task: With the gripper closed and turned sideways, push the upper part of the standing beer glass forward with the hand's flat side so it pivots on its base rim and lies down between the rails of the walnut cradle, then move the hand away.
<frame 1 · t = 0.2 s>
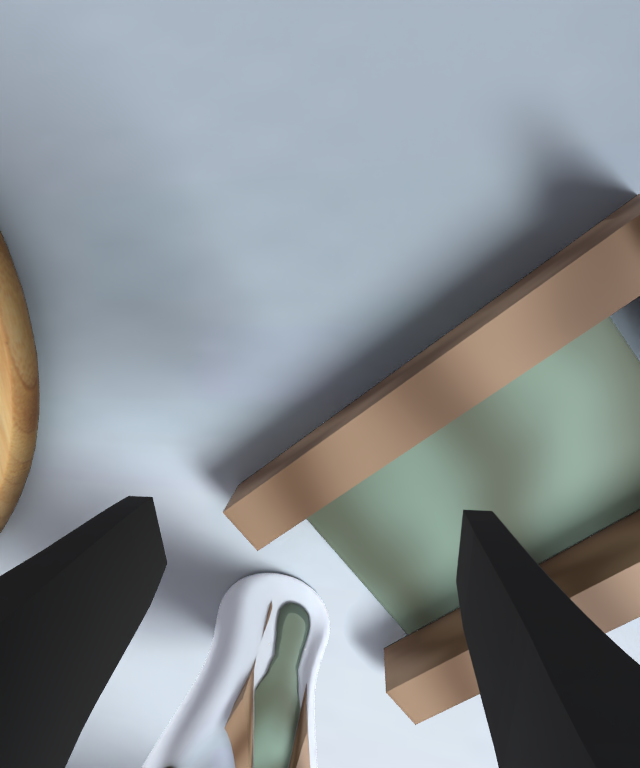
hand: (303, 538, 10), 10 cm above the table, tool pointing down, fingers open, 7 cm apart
cradle: (490, 487, 21), on the table
beer glass: (275, 615, 24), on the table
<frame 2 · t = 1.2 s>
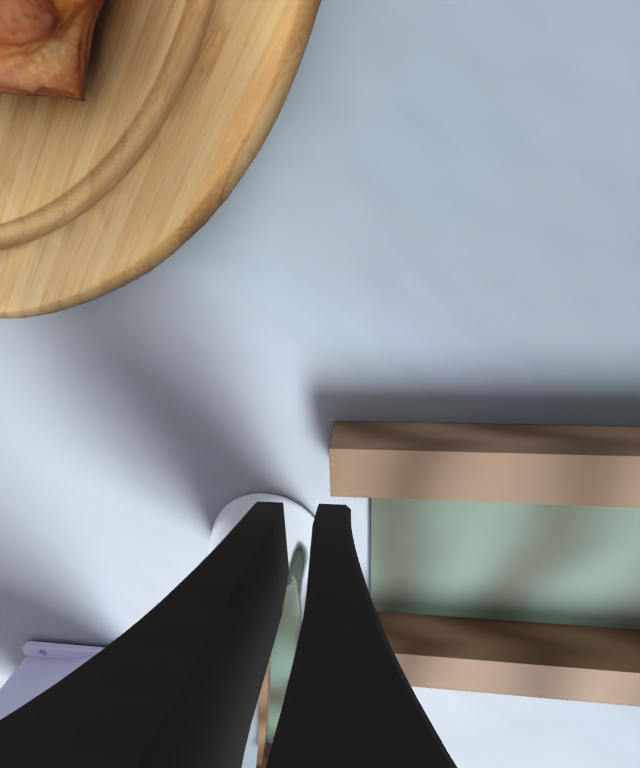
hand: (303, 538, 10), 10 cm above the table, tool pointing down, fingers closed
cradle: (530, 551, 22), on the table
beer glass: (269, 535, 24), on the table
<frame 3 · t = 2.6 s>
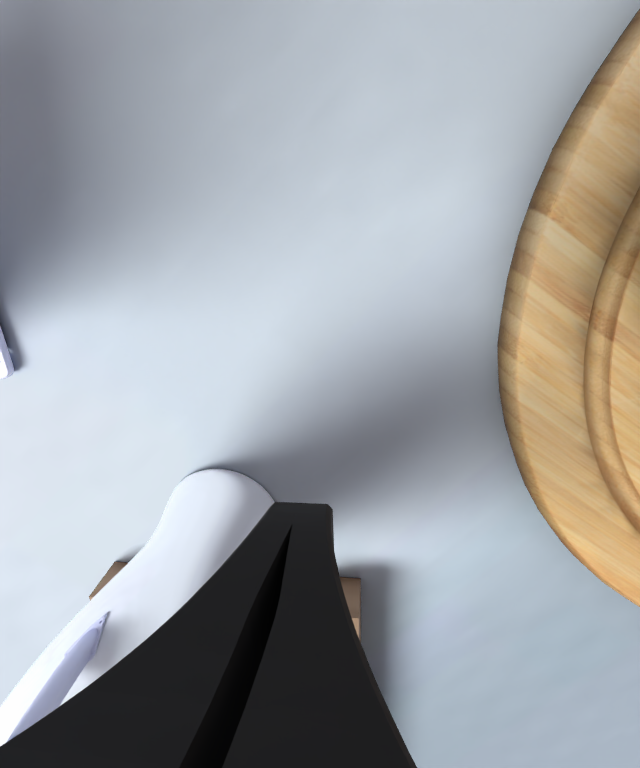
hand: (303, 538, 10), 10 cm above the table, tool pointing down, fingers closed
cradle: (249, 684, 28), on the table
beer glass: (226, 513, 24), on the table
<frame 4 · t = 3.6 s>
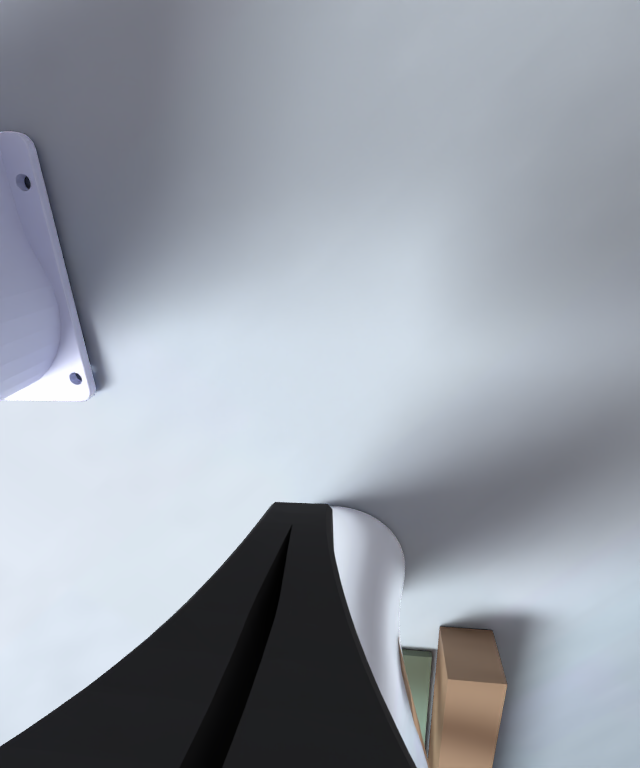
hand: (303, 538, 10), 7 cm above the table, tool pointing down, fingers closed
cradle: (342, 742, 25), on the table
beer glass: (337, 555, 20), on the table
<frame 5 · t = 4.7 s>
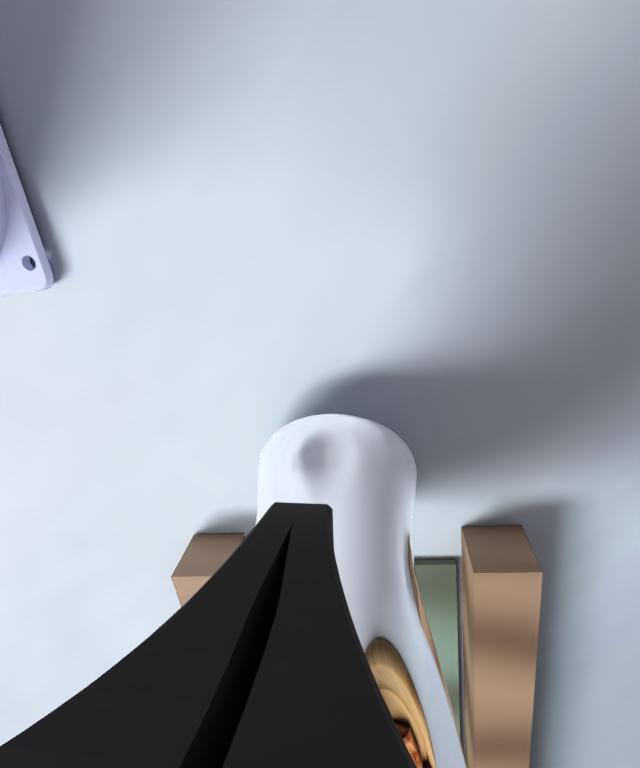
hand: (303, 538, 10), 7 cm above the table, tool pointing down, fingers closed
cradle: (368, 680, 23), on the table
beer glass: (337, 466, 17), point 1 cm above the table, touching gripper
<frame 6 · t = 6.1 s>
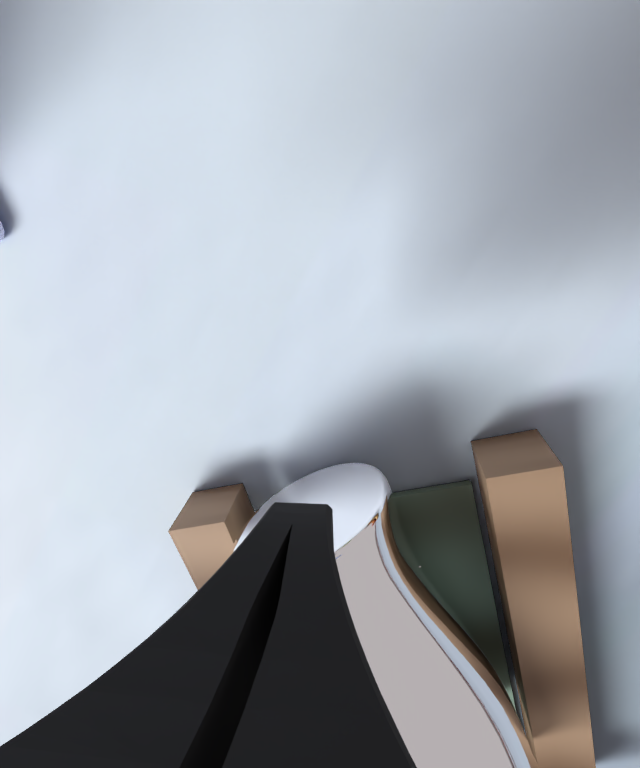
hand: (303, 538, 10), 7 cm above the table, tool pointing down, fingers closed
cradle: (401, 632, 21), on the table
beer glass: (303, 508, 15), point 3 cm above the table, touching cradle
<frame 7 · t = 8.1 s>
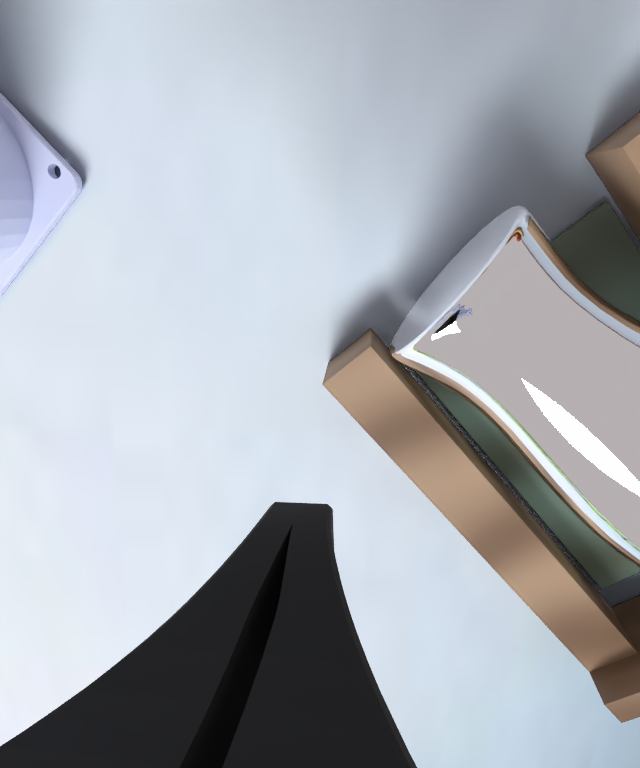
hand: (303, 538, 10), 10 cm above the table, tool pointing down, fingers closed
cradle: (600, 425, 19), on the table
beer glass: (443, 278, 14), point 3 cm above the table, touching cradle
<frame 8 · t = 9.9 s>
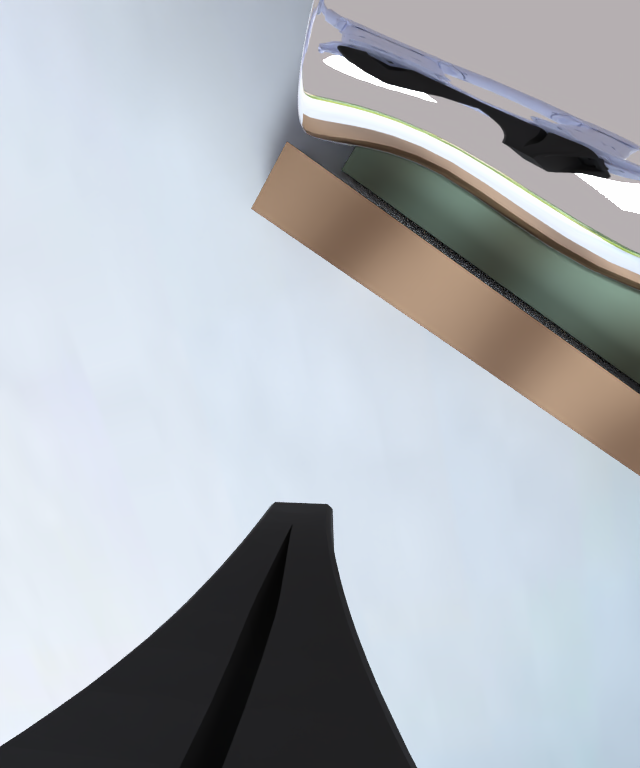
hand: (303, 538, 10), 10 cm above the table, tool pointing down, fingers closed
cradle: (596, 185, 16), on the table
beer glass: (333, 14, 12), point 3 cm above the table, touching cradle
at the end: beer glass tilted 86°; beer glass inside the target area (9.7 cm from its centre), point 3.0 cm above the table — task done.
